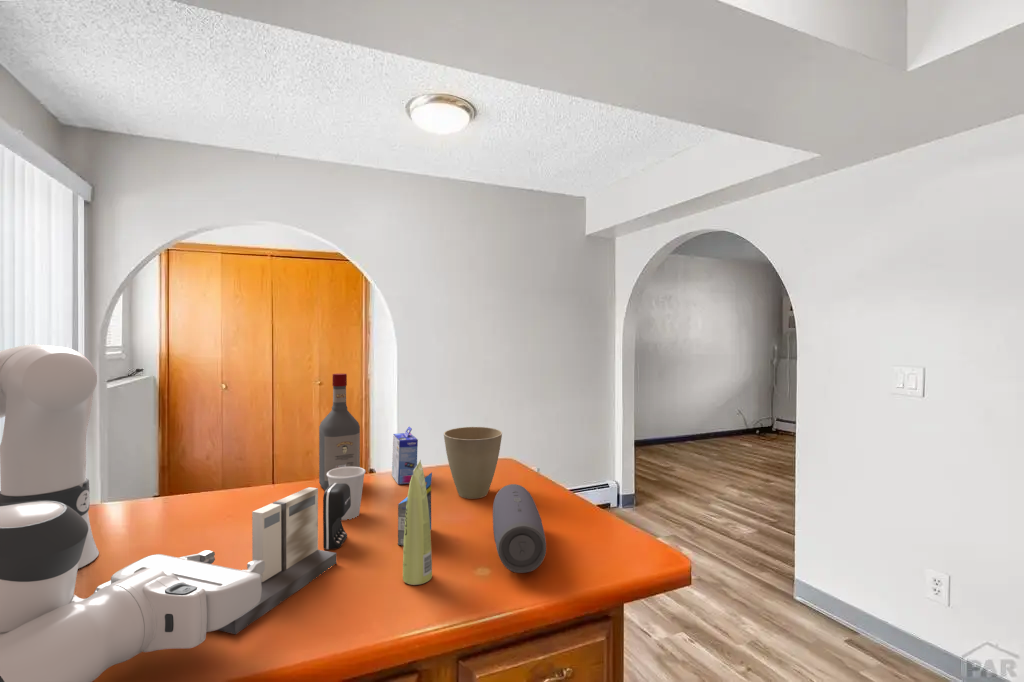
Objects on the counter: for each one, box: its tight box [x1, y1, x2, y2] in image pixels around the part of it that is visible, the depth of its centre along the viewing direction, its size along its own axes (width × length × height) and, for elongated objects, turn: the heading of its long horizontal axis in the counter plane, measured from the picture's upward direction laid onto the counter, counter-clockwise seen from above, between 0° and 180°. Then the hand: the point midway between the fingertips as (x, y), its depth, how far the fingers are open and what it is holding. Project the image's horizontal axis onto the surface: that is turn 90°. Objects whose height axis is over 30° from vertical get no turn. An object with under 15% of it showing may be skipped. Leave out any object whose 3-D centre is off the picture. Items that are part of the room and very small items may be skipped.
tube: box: [402, 459, 433, 586], centre depth 86 cm, size 6×5×20 cm
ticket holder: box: [217, 486, 337, 635], centre depth 82 cm, size 22×10×13 cm, turn 162°
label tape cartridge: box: [397, 472, 433, 547], centre depth 102 cm, size 9×4×12 cm, turn 168°
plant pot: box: [443, 426, 503, 500], centre depth 129 cm, size 15×15×16 cm
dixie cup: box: [327, 467, 366, 521], centre depth 114 cm, size 8×8×10 cm
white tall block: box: [251, 502, 281, 582], centre depth 82 cm, size 4×2×11 cm, turn 162°
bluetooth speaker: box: [492, 483, 547, 574], centre depth 97 cm, size 23×9×10 cm, turn 4°
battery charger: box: [322, 483, 351, 551], centre depth 99 cm, size 7×4×11 cm, turn 3°
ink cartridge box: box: [391, 426, 419, 485], centre depth 141 cm, size 10×6×14 cm, turn 24°
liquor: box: [318, 373, 361, 492], centre depth 134 cm, size 9×9×30 cm
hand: (235, 560), depth 75 cm, fingers open, 8 cm apart
